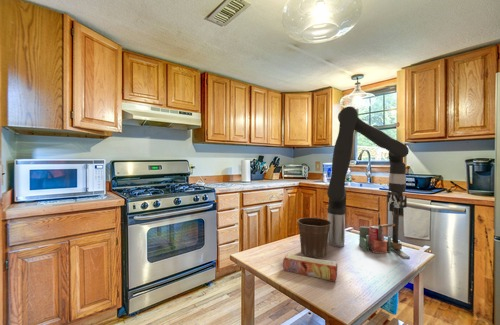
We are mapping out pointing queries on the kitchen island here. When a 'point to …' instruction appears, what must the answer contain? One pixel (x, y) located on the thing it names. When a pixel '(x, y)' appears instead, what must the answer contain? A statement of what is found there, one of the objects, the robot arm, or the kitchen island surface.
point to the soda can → (374, 235)
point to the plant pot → (314, 236)
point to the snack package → (311, 267)
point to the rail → (400, 253)
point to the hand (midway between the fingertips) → (395, 213)
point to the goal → (365, 239)
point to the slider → (381, 245)
